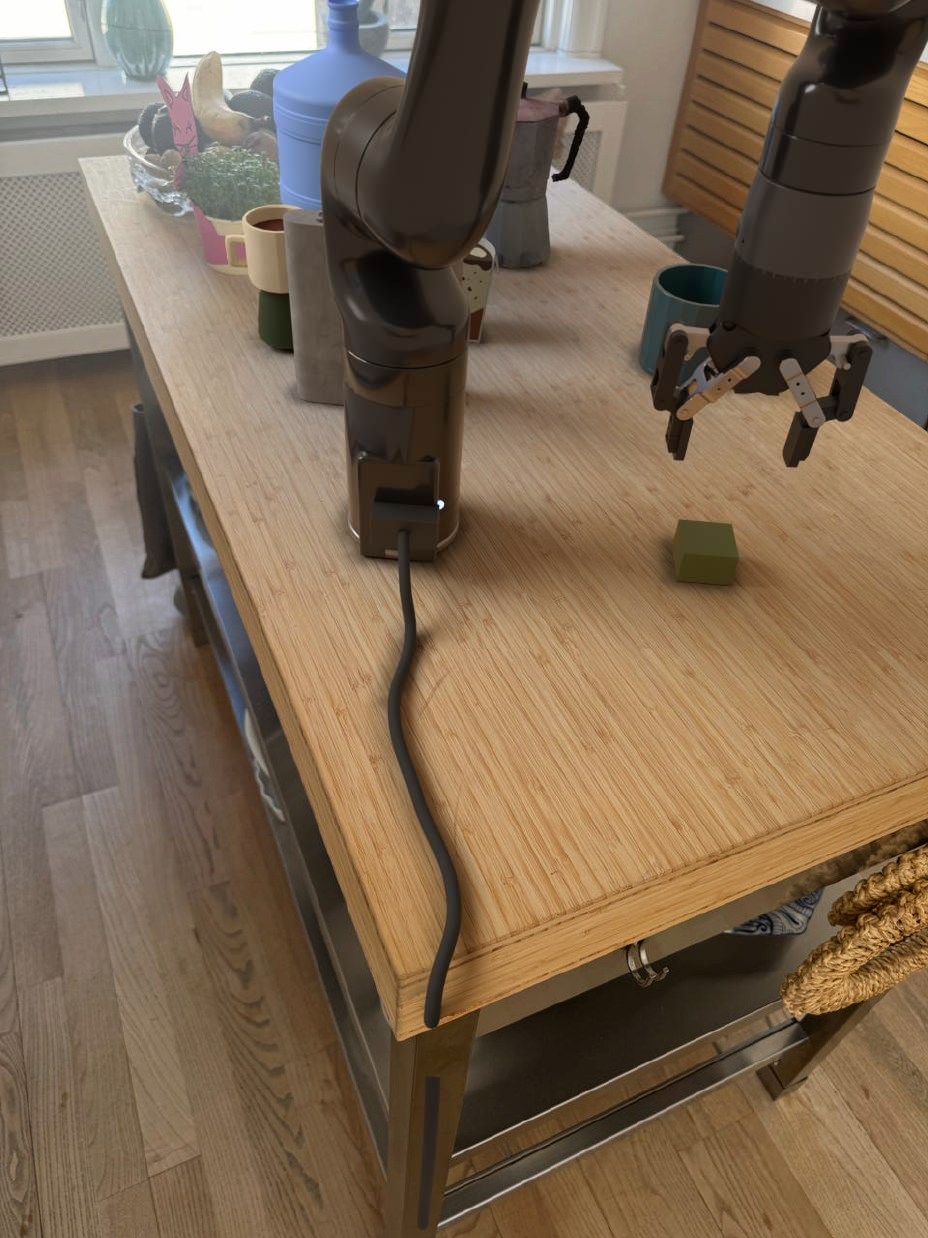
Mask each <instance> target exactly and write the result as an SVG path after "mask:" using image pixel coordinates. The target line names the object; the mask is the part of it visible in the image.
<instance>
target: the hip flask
mask: <svg viewBox="0 0 928 1238" xmlns="http://www.w3.org/2000/svg"><path fill="white" fill-rule="evenodd" d="M283 223H284V236H285V248H286V260H287V272H288V285H289V297H290V309H291V321H292V334H293V346H294V348H293V356H294V357H293V358H294V369H295V379H296V380H295V381H296V392H297V396H298V398H299V399H301V400H303V401H306V402H311V403H318V404H319V403H320V404H328V405H339V406H340V405H341V406H344V397H343V369H342V345H341V325H340V318H339V314H338V311H337V308H336V305H335V302H334V300H333V297H332V294H331V290H330V286H329V281H328V273H327V264H326V252H325V241H324V230H323V219H322V210H319V211H316V210H307V209H295V210H290V211H288V212H286V213H285V214H284V215H283ZM452 268H453V271H454V273H455V275H456V277H457V280H458V282H459V283H460V285H461V287H462V276H463V259H462V260H460V261H459V262H457V263H456V264H454V265H452Z"/></svg>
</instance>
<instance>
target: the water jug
mask: <svg viewBox="0 0 928 1238" xmlns="http://www.w3.org/2000/svg"><path fill="white" fill-rule="evenodd" d="M326 5H327V7H328V18H327V26H328V35H329V36H328V37H329V38H328V39H329V40H328V44H327V45H326V46H325V47H324V48H322V49H320V50H318V51H316V52H314V53H312V54H310V55H308V56H306V57H304V58H302V59H299V61H296V62H294V63H293V64H290V65H289V66H286V67H284V68H283V69H281V70H279V71H278V72H277V73H276V74H275V76H274V78H273V79H272V92H273V95H272V110H273V119H274V125H275V130H276V143H277V153H278V154H277V155H278V167H279V194H280V195H279V196H280V201H281V203H282V204H281V205H290V206H296V207H299V208H302V209H307V210H316V211H319V210H322V207H321V194H320V154H321V146H322V141H323V136H324V132H325V129H326V126H327V123H328V121H329V118H330V116H331V114H332V112H333V110H334V108H335V107H336V105H337V104H338V102H339V101H340V100H341V98H342V97H343V96H344V95H345V94H346V93H347V92H348V91H349V90H351V89H352V88H353V87H354V86H356V85H358V84H359V83H361V82H363V81H365V80H368V79H371V78H375V77H380V76H392V77H398V78H402V79H406V74H407V72H405V71H404V70H402V69H400V68H398V67H396V66H395V65H393V64H391V63H389V62H388V61H386V60H385V59H382V58H380V57H378V56H377V55H375V54H374V53H371V52H369V50H366V49H364V47H362V45H361V43H360V37H359V35H360V34H359V29H360V19H359V18H358V8H359V6H360V1H358V0H326Z"/></svg>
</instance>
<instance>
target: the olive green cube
mask: <svg viewBox="0 0 928 1238" xmlns="http://www.w3.org/2000/svg"><path fill="white" fill-rule="evenodd" d="M671 552H672V560H673V567H674V575H675V580H676V582H683V583H694V584H705V585H718V586H731V584H732V581H733V578H734V574H735V573H736V569H737V566H738V564H739V560H740V555H739V550H738V546H737V541H736V537H735V532H734V527H733V524H732V523H729V522H727V523H726V522H718V521H717V522H716V521H715V522H714V521H704V520H694V519H681V518H679V519H678V521H677V526H676V528H675V532H674V537H673V539H672V542H671Z"/></svg>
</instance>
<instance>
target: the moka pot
mask: <svg viewBox="0 0 928 1238" xmlns="http://www.w3.org/2000/svg"><path fill="white" fill-rule="evenodd" d="M528 86H529V82H526V81H523V86H522V92H521V97H520V103H519V108H518V114H517V120H516V126H515V131H514V137H513V142H512V148H511V154H510V159H509V164H508V169H507V174H506V178H505V183H504V187H503V191H502V194H501V198H500V201H499V204H498V207H497V209H496V212H495V215H494V217H493V219H492V221H491V223H490V225H489V227H488V229H487V231H486V233H485V234H484V236H483V238H484V239H486V240H488V241H489V242H490V243H491V244H492V245H493V247H494V249H495V253H496V255H497V259H498V267H502V268H508V269H525V268H529V267H535V266H538V265H541V264H542V263H544V262H546V261H547V260H548V259H549V257H550V256H551V253H552V251H551V250H552V249H551V237H550V225H549V224H550V222H549V210H548V209H549V208H548V199H547V189H548V181H549V179H550V177H551V180H552V183H558V182H562V181H566V180H569V178H570V176H571V173H572V171H573V168H574V165H575V163H576V158H577V157H578V154H579V151H580V147H581V145H582V142H583V139H584V136H585V133H586V130H587V129H588V128H589V127H588V126H589V122H590V119H591V117H590V114H589V112H588V111H587V110H586V107H585V104H582V100H581V99H580V98H579V96H578V95H577V94H575V95H572V96H569V97H567V98H554V99H551V100H546V99H543V98H540V97H535V96H527V92H528ZM572 114H576V115H577V118H578V123H577V125H576V128H575V130H574V136H573V138H572V140H571V141H572V143H571V144H570V147H569V153H568V155H567V158H566V160H565V161H566V162H565V164H564V166H563V168H562V170H561V171H559V172H557V173H552V175H551V168H552V162H553V156H554V151H555V143H556V139H557V133H558V126H559V122H560V118H566V117H568V116H569V115H572ZM550 175H551V176H550Z"/></svg>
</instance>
